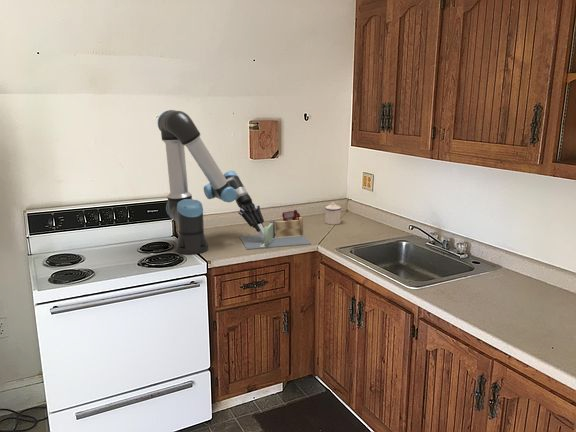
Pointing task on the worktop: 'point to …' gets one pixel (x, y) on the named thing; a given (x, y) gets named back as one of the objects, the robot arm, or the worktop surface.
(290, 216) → the toy fire truck
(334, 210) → the teacup with lid
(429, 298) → the worktop surface
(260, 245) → the card
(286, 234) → the fixed fence panel
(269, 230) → the hinged fence panel
